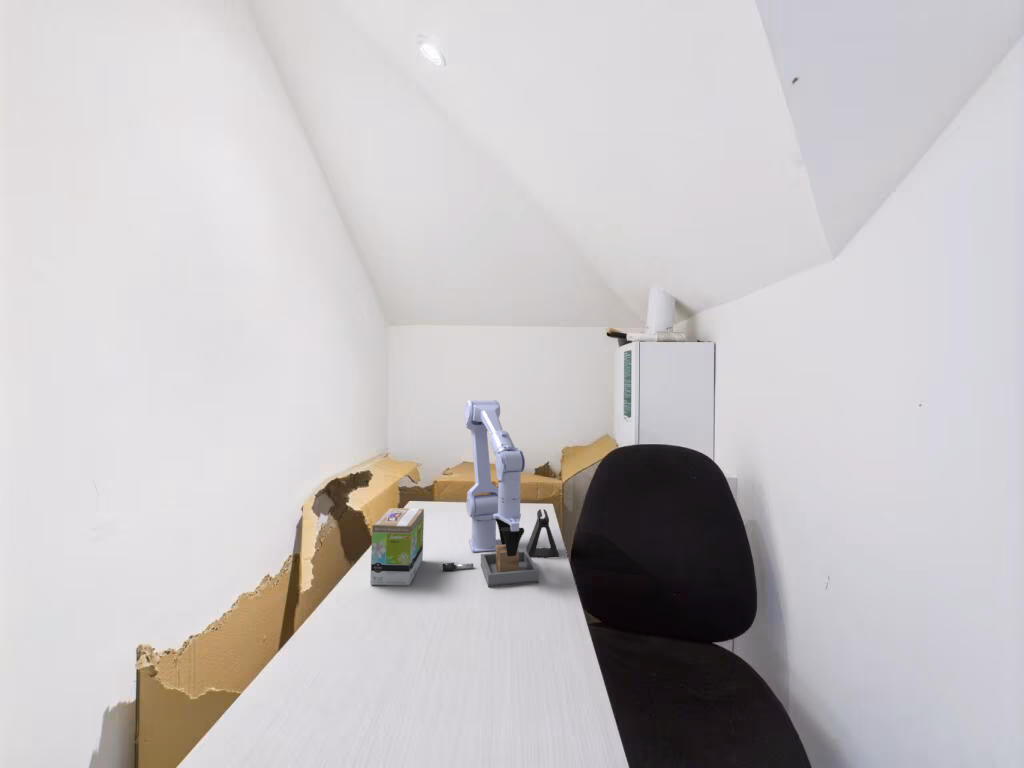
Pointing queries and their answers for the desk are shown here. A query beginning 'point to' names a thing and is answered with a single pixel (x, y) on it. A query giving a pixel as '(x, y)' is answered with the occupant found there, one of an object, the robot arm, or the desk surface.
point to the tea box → (397, 546)
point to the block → (506, 560)
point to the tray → (523, 576)
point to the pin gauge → (456, 566)
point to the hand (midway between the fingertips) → (508, 549)
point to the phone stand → (534, 538)
